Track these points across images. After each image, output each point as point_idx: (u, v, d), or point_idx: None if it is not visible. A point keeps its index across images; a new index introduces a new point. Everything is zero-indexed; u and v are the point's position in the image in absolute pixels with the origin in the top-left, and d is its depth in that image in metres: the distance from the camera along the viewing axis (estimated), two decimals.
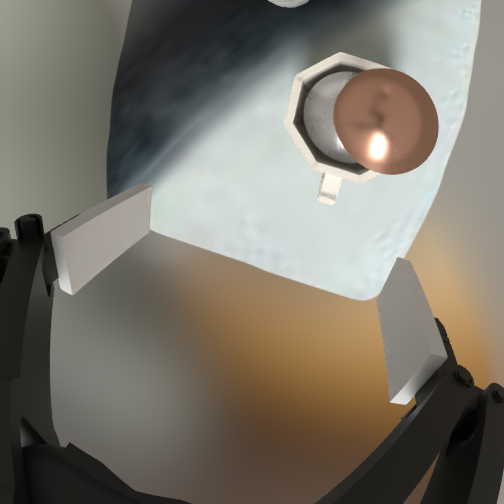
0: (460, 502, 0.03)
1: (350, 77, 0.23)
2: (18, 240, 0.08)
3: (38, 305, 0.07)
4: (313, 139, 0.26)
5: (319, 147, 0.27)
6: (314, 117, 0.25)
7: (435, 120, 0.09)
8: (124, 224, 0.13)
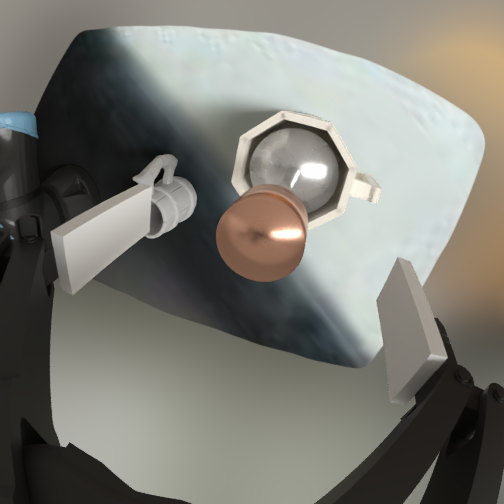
0: (460, 502, 0.03)
1: (255, 171, 0.30)
2: (18, 240, 0.08)
3: (38, 305, 0.07)
4: (316, 207, 0.30)
5: (324, 203, 0.30)
6: None
7: (251, 202, 0.13)
8: (124, 224, 0.13)
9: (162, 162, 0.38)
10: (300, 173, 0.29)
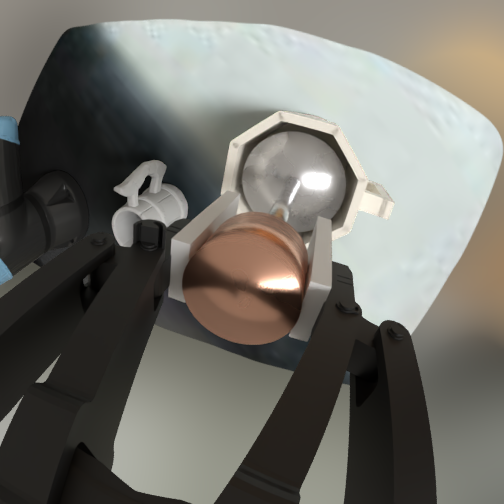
0: (386, 457, 0.05)
1: (248, 182, 0.26)
2: (134, 243, 0.10)
3: (139, 321, 0.08)
4: None
5: None
6: (295, 221, 0.27)
7: (226, 246, 0.09)
8: None
9: (148, 169, 0.34)
10: (301, 184, 0.25)
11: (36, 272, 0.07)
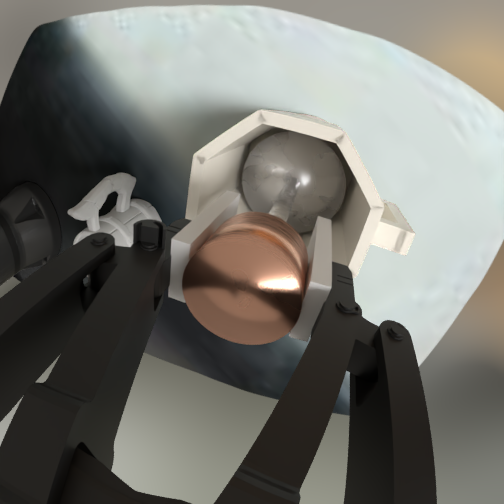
0: (386, 457, 0.05)
1: (248, 182, 0.26)
2: (134, 243, 0.10)
3: (139, 321, 0.08)
4: None
5: None
6: (295, 221, 0.27)
7: (226, 246, 0.09)
8: None
9: (110, 185, 0.27)
10: (301, 184, 0.25)
11: (36, 272, 0.07)
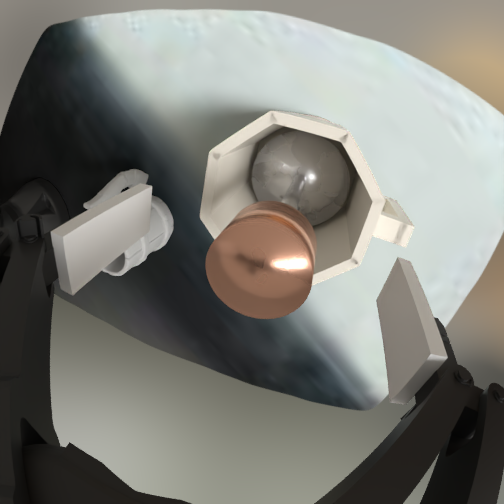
0: (460, 502, 0.03)
1: (258, 179, 0.27)
2: (18, 240, 0.08)
3: (38, 305, 0.07)
4: (324, 219, 0.28)
5: (332, 214, 0.27)
6: None
7: (247, 227, 0.11)
8: (124, 224, 0.13)
9: (124, 181, 0.29)
10: (307, 181, 0.26)
11: None
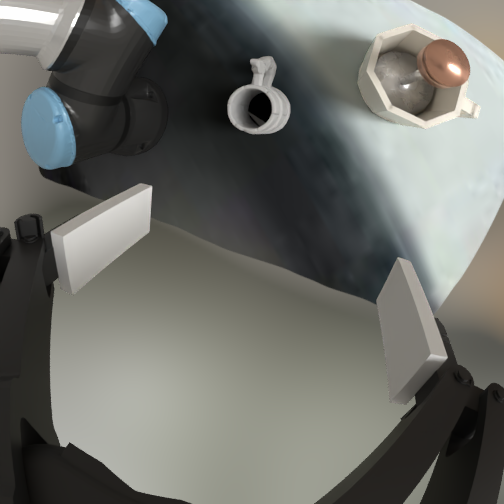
0: (460, 502, 0.03)
1: None
2: (18, 240, 0.08)
3: (38, 305, 0.07)
4: (418, 109, 0.32)
5: (423, 107, 0.32)
6: (404, 105, 0.32)
7: (445, 40, 0.15)
8: (124, 224, 0.13)
9: (271, 61, 0.33)
10: (408, 83, 0.31)
11: None
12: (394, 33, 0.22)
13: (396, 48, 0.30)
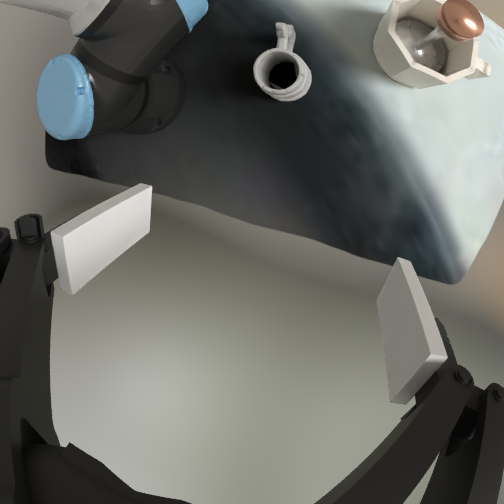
0: (460, 502, 0.03)
1: None
2: (18, 240, 0.08)
3: (38, 305, 0.07)
4: None
5: (438, 69, 0.29)
6: None
7: None
8: (124, 224, 0.13)
9: (291, 29, 0.31)
10: (422, 48, 0.28)
11: None
12: None
13: (406, 17, 0.28)
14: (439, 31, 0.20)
